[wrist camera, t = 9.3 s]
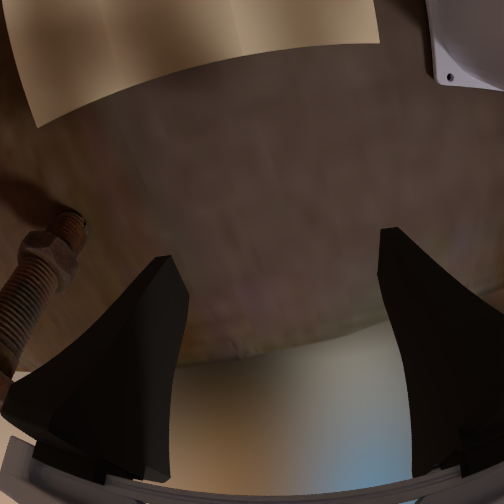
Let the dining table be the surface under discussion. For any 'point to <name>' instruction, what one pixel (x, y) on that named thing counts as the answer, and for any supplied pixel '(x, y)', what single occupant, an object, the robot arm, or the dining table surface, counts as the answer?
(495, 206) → the dining table surface
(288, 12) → the birch block
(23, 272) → the bolt
